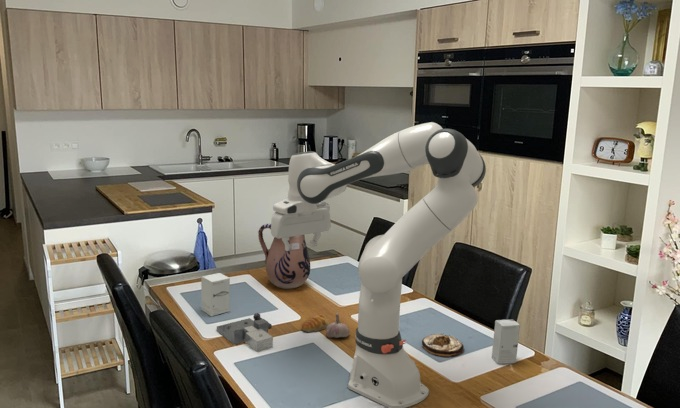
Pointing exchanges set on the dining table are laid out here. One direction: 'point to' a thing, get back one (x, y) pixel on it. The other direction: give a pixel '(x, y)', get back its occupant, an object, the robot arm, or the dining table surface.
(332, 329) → the garlic bulb
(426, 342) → the brown flat two-tone disc
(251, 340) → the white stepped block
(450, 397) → the dining table surface
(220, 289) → the supplement box
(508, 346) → the skincare box
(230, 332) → the gunmetal leaf
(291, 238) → the ceramic pitcher
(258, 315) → the hinge pin
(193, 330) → the dining table surface
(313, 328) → the pastry
